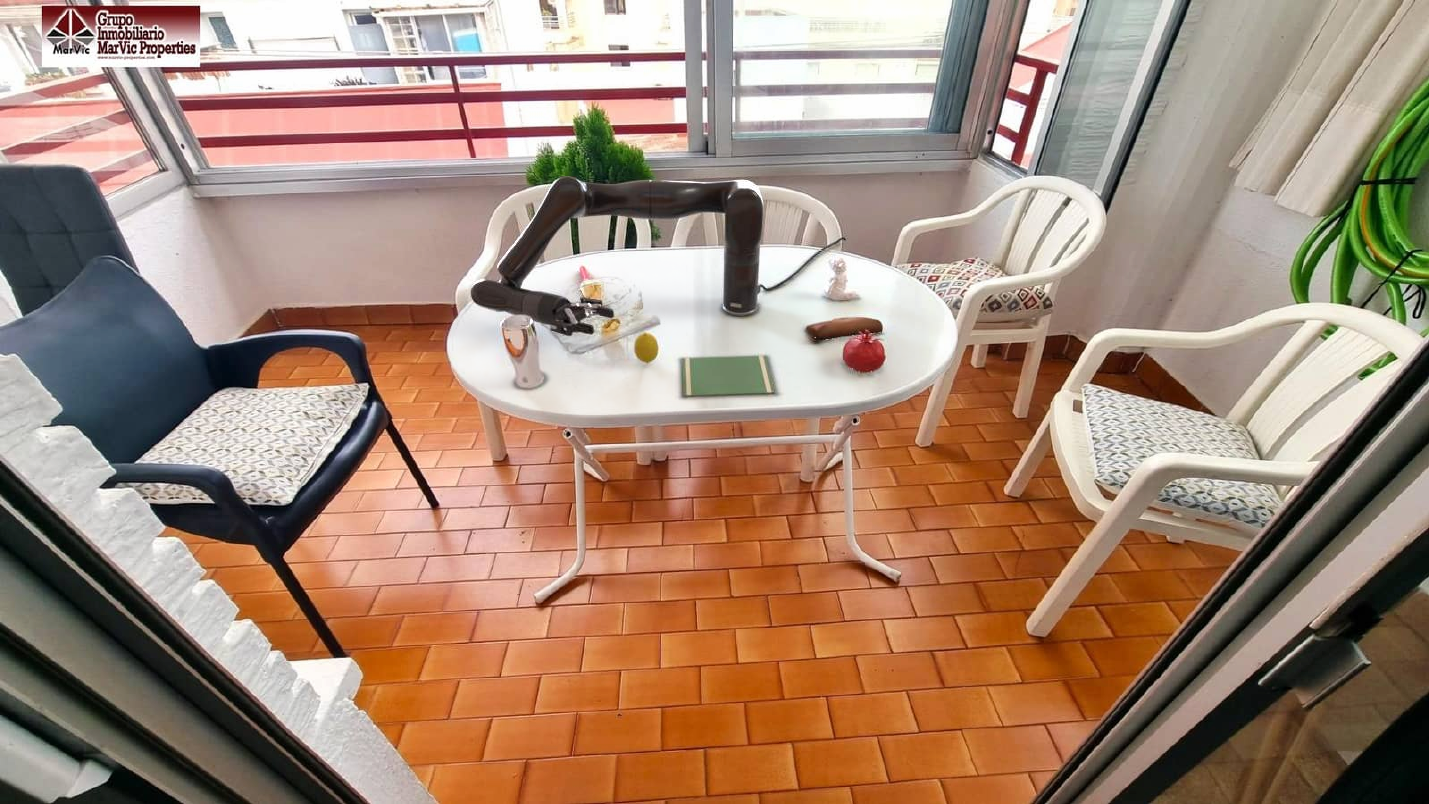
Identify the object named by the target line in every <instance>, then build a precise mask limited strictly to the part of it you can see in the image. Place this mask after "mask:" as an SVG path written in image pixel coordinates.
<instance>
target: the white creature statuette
mask: <svg viewBox="0 0 1429 804" xmlns="http://www.w3.org/2000/svg"><path fill="white" fill-rule="evenodd" d="M827 263H828V264H829V267H830V269H831V270H832V272H831V273H830V275H829V276H828V281H827V282H826V285H825V286H824V289H823V293H824V297H826V298H827V299H829V300H831V301H848V300H849V301H850V300H857V299H858V298H859V297H860V293H859V292H858V291H856V290H855V289H853V288H852V289H848V286H847V283H848V278H847V277H848V276H847V274H846V271H847V266H846V264H847V263H846V261H845V260H844V257H843V256H842V255H837V256H836V255H835V257H833V258H831V257H828V260H827ZM855 296H858V297H855Z"/></svg>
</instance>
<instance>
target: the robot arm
mask: <svg viewBox="0 0 1429 804" xmlns="http://www.w3.org/2000/svg"><path fill="white" fill-rule="evenodd" d="M549 187H550V188H549V189H548V191H547V193H546V194H545V197H544V199H543V200H542V203H541V204H540V206H539V207H538V210H537V211H536V212H535V215H533V218H532V219H531V221H530V222H529V224H528V225H527V226H526V228H525V229H524V230H523V231H522V233H521V234H520V236H518V238H517V240H515V242H514V243H513V244H512V246H510V248H509V249H508V251H507V252H506V253H505V255H503V257H502V258H501V260H500V261H499V263H498V264H497V271H498V273H499V275H500V276H501V277H500V280H498V281H496V280H492V279H488V278H482V279H479V280H476V281H475V282H474V283H473V284H472V286H471V288H470V297H471V299H472V301H473V302H474V303H475V304H476V306H478V307H480V308H484V309H487V310H491V311H493V312H496V313H503V312H505V313H508V314H511V315H512V316H514V315H527V316H530V317H531V318H532V319H533V322H535V323H539V324H543V325H547V326H549V330H550V332H553V333H557V334H561V335H564V336H567V337H571V336H573V333H574V334H578V333H582V334H585V335H590V336H591V335H592V336H593V334H595V327H594V325H593V324H590V323H585V322H581V321H583V320H584V319H591V318H592V317H595V316H599V317H603V318H608V319H613V318H614V317H615V313H614V312H615V311H614V309H613V308H610V307H606V306H603V300H600V299H596V298H595V299H590V298H588V297H585V296H581V297H579V302H571V301H570V300H569V299H568V298H567V297H566V296H564V295H559V294H554V293H550V292H546V291H541V290H532V289H527V288H523V287H522V285H523V282H524V281H525V280H526V279H527V278H528V276H529V275H530V274H531V272H532V271H533V270H534V268H535V267H536V266H537V265H538V263H539V262H540V261H541V259H542V257H543V255H544V254H545V252H546V250H547V248H548V246H549V244H550V243H551V241H552V240H553V238H554V237H555V235H556V234H557V233H558V232H559V230H560V229H561V228H562V227H564V226H565V224H566V223H567V222H569V221H570V220H571V219H580V218H588V217H600V216H601V217H603V216H617V217H623V218H631V219H639V220H654V221H655V220H656V221H670V220H678V219H682V218H687V217H690V216H693V215H697V214H704V213H705V214H706V213H712V214H713V213H715V214H724V235H723V293H722V294H723V295H722V296H723V297H722V298H723V299H722V301H723V302H722V310H723V311H724V312H725V313H726V314H727V315H731V316H735V317H746V316H747V317H748V316H751V315H753V314H754V313H756V312H757V311H758V295H759V294H760V293H761V289H762V290H764V291H766V292H767V291H772V290H774V289H777V288H779V287H780V286H782V285H784V284H785V283H787V282H788V281H790V280H791V279H793V278H794V277H795V276H796V275H797V274H798V273H799V272H801V271H802V269H803V268H805V267H806V266H807V265H808V264H809V263H810V262H811V261H812V260H813V259H814V258H815V257H817V256H818V255H819V254H821V253H822V252H823V251H825V250H827V249H828V248H830V247H833V246H834V245H837V243H839V242H841V241H847V239H846V238H845V236H843V237H842V236H841V237H840V238H838V239H837V240H836V241H834V242H832V243H829V244H828V245H826V246H823V248H821V249H820V250H823V251H819V250H818V251H817V252H815V253H814V254H813V255H812V256H811V257H809V258H808V259H807V260H806V261H805V262H804V263H803V264H802V265H801V266H800V267H799V268H798V269H797V270H795V271H794V272H793V273H792V274H791V275H789V276H788V277H786V279H784V280H782V281H780V282H779V283H777V284H775V285H774V286H770V287H766V286H765V285H764V284H762V283H759V273H760V257H761V255H760V253H761V241H762V237H763V236H762V234H763V221H764V201H763V198H762V194H761V191H760V189H759V187H758V186H757V185H756V184H755V183H754V182H752V181H750V180H747V179H736V180H726V181H724V180H723V181H713V182H712V181H711V182H700V181H687V180H669V179H668V180H667V179H642V180H640V179H639V180H632V181H626V182H621V183H614V184H613V183H612V184H607V183H596V182H595V183H594V182H586V181H582V180H579V179H578V178H576V177H573V176H569V175H567V176H566V175H565V176H561V177H559V178H557V179H555V180H554V181H553V182H552V184H551V186H549ZM586 310H587V313H586Z"/></svg>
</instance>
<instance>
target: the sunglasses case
mask: <svg viewBox="0 0 1429 804" xmlns="http://www.w3.org/2000/svg"><path fill="white" fill-rule="evenodd" d="M805 329H806V331H807V333H808V335H809V337H810V339H811V340H812V341H813V343H817V342H822V341H828V340H833V339H839V338H845V337H853V336H852V335H854V336H858V335H861V334H860V333H859V332H862V333H863V334H864V335H865V330H869V335H871V334H870V333H874V334H883V331H884V330H883V329H884V325H883V323H882V321H880V319H877V318H871V317H866V316H865V317H864V316H845V317H836V318H833V319H831V320H826V321H820V322H816V323H812V324H809V325H807V326H806V328H805ZM858 331H859V332H858ZM878 332H881V333H878ZM815 337H816V338H815ZM838 337H839V338H838ZM832 338H833V339H832ZM826 339H828V340H826ZM819 340H820V341H819Z"/></svg>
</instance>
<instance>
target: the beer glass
mask: <svg viewBox="0 0 1429 804" xmlns="http://www.w3.org/2000/svg"><path fill="white" fill-rule="evenodd" d="M500 328H501V335H502V340H503V344H504V348H505V350H506V353H507V355H508V358H509V359H510V361H511V363H512V366H513V368H514V372H515V373H514V374H515V383H516V386H518V387H519V388H522V389H532V388H535V387H538V386H540V385H541V384H542V383H543V382H544V380H545V376H544V374H543V372H542V370H541V366H540V356H539V355H540V350H539V349H540V347H539V338H538V333H537V329H536V326H535V324H534V321H533V319H532V318H531V317H530V316H527V315H511V316H507V317H505V318H504V319H503V320H502V321H501V322H500Z"/></svg>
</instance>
